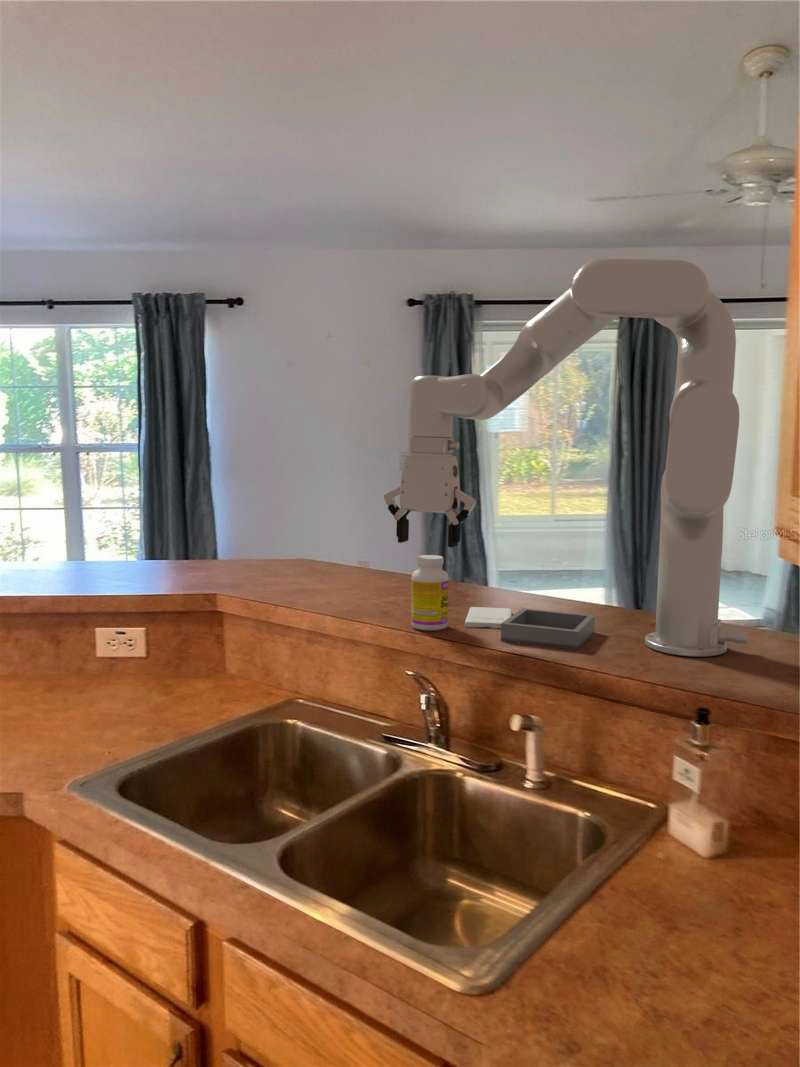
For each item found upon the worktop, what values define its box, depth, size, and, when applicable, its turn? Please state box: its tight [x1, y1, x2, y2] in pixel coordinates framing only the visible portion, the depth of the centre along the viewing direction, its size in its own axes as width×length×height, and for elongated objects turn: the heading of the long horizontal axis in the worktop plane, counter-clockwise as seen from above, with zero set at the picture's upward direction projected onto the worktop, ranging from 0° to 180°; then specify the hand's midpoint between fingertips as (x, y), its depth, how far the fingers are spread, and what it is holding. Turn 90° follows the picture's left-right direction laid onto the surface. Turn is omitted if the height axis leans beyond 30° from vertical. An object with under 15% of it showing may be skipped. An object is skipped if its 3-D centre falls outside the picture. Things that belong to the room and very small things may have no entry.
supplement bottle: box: [410, 554, 450, 632], centre depth 140 cm, size 7×7×13 cm
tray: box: [500, 607, 596, 651], centre depth 135 cm, size 13×13×3 cm
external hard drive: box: [464, 606, 513, 629], centre depth 147 cm, size 2×8×12 cm
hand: (427, 544), depth 139 cm, fingers open, 9 cm apart
